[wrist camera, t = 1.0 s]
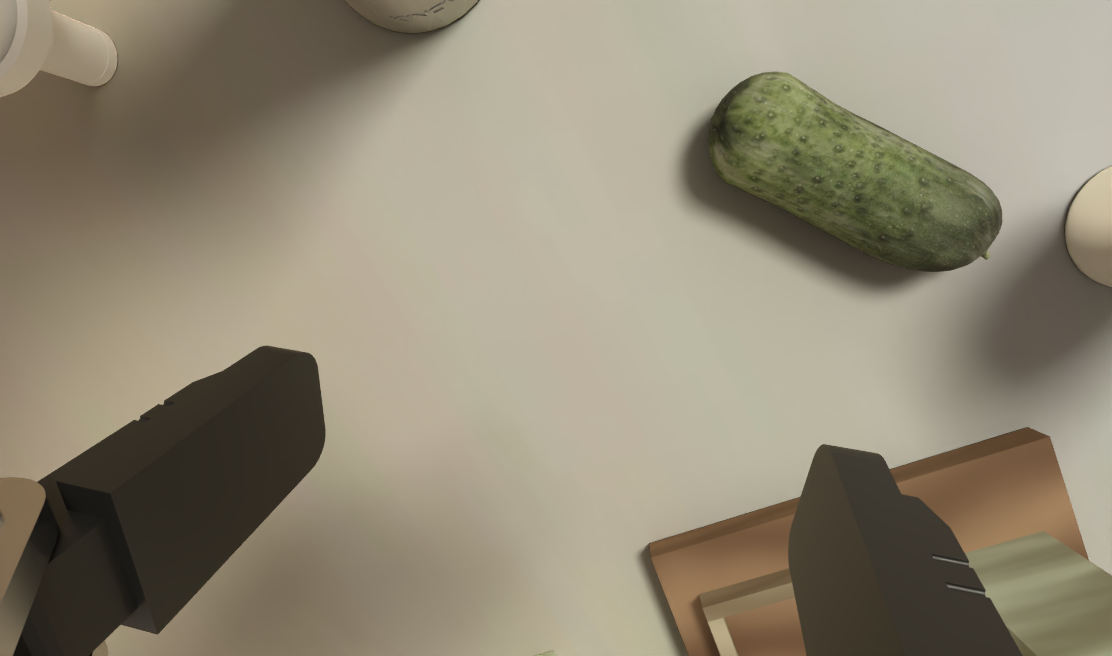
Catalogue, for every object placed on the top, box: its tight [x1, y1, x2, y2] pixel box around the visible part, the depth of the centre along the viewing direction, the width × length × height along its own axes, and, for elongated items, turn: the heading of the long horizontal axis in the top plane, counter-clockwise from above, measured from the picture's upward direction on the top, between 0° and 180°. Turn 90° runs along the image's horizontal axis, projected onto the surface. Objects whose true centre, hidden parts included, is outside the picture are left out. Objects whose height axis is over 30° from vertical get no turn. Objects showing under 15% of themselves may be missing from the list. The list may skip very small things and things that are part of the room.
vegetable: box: [708, 72, 1002, 272], centre depth 26 cm, size 14×5×5 cm, turn 62°
